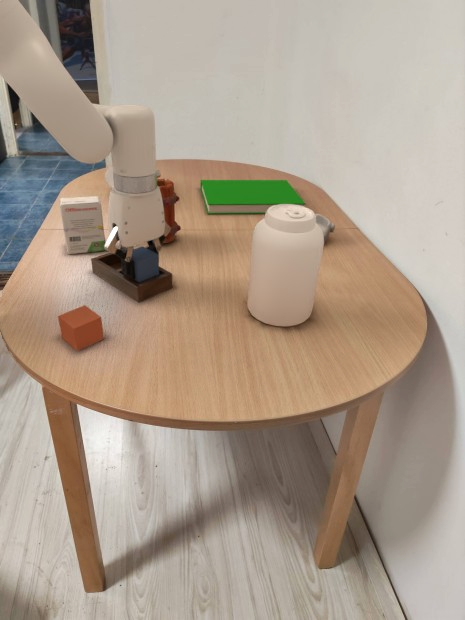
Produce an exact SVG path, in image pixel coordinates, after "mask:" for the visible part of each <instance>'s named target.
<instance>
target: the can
mask: <svg viewBox="0 0 465 620" xmlns="http://www.w3.org/2000/svg"><path fill="white" fill-rule="evenodd" d="M315 214H316V213H315V212H314V211H313V209H311V208H309V207H306V206H304V207H303V206H300V205H294V204H279V205H274V206H272V207H269V209H268V210H267V212H266V214H264V217H263V218H262V219H261V220H259V221H258V222H257V223H256V224H255V227H254V229H253V231H252V237H251V238H252V239H251V250H250V263H249V276H248V288H247V301H246V302H247V303H246V305H247V306H246V307H247V309H248V311H249V313H250V315H251V316H252V317H253V318H255V319H256V320H257V321H259V322H261V323H264V324H266V325H271V326H275V327H294V326H298V325H300V324H303V323H305V321H307V320H308V319H309V318H310V317H311V316H312V313H313V310H314V303H315V298H316V291H317V285H318V281H319V280H318V279H319V275H320V270H321V269H320V268H321V264H322V263H321V262H322V258H323V251H324V250H323V249H324V247H325V246H324V245H325V242H324V237H323V232H322V229H321V228H320V227H319V226H318V225H317V223H316V216H315Z"/></svg>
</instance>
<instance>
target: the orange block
mask: <svg viewBox="0 0 465 620" xmlns="http://www.w3.org/2000/svg"><path fill="white" fill-rule="evenodd" d="M57 319H58V324H59V329H60V334H61V338H62V339H63V340H64V341H65V342H66V343H67V344H69V345H70V346H71V347H72V348H73V349H75V351H76V352H79V351H81V350H83V349H85V348H87V347H90V346H92V345H94V344H96V343H98V342H100V341H102V340H105V337H104V336H105V335H104V328H103V321H102V317H101V316H100V315H99V314H98V313H96V312H95V311H94V310H92V309H91V308H89V307H88V306H87V305H86V304H83V305H81V306H78V307H76V308H74V309H71V310H69V311H67V312H64V313H61V314H58V315H57Z"/></svg>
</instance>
